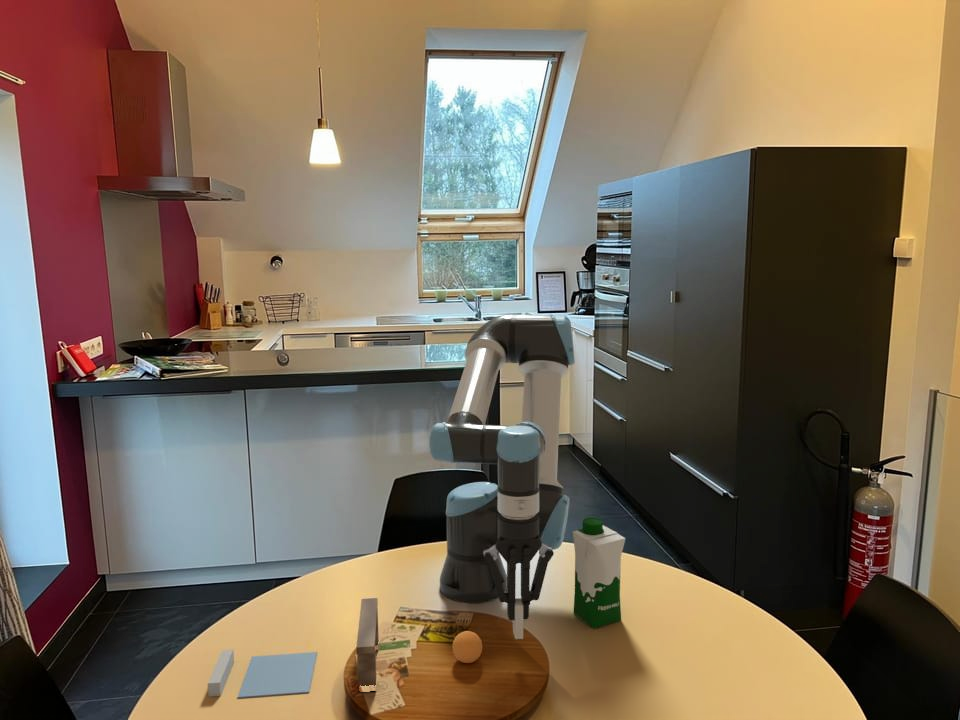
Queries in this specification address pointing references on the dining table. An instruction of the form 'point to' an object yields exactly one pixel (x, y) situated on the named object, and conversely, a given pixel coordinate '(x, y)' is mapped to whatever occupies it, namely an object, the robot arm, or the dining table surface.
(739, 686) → the dining table surface
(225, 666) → the rail
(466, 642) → the ball
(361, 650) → the bridge
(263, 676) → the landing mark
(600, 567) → the milk carton
